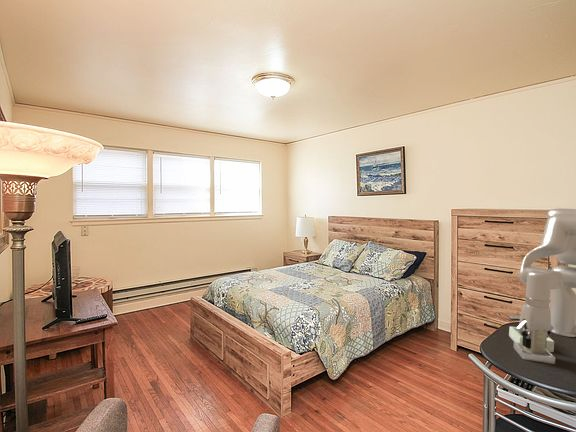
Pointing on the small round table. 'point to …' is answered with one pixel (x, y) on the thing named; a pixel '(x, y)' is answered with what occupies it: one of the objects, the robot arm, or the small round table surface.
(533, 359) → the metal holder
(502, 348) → the small round table surface
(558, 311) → the robot arm
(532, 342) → the skincare box
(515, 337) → the sage bin
